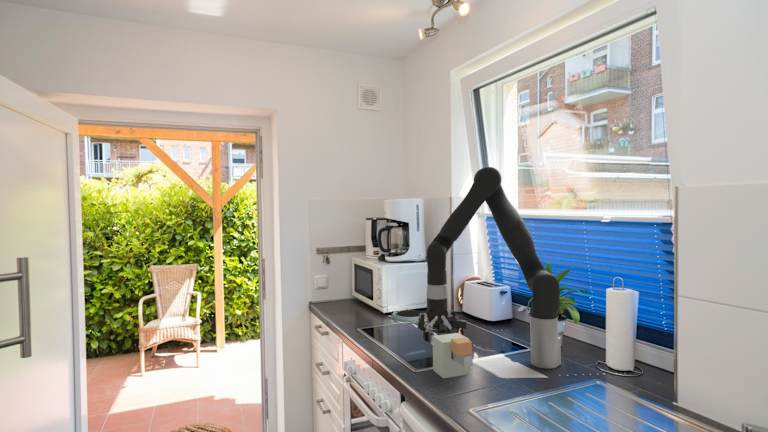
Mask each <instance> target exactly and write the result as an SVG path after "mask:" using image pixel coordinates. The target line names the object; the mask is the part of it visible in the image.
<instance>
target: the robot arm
mask: <svg viewBox="0 0 768 432" xmlns="http://www.w3.org/2000/svg"><path fill="white" fill-rule="evenodd" d="M484 203H486V205H487V207H488V208H489V211H490V213H491V215H492V217H493V220H494V222H495V224H496V226H497V229H498V231H499V233H500V235H501V237H502V238H503V240H504V243H505V245H506V246H507V248H508V249H509V251H510V253H511V255H513V258H514V259H515V261H516V262H517V263H518V265H519V267H520V269H521V272H522V274H523V276H524V280H525V282H526V284H527V287H528V288H529V290H530V292H531V293H532V294H531V295H532V299H531V300H532V305H531V307H530V308H529V318H530V319H529V320H530V321H529V324H530V326H529V327H530V329H529V330H530V333H529V334H530V364H531V365H532V366H534V367H535V368H539V369H547V370H548V369H550V370H551V369H555V368H558V367H559V366H561V364H562V362H561V360H562V359H561V357H562V356H561V355H562V354H561V353H562V352H561V349H562V348H561V347H562V346H561V338H560V337H559V325H558V324H559V323H558V322H559V321H558V319H559V318H558V313H559V311H560V300H561V299H560V297H561V295H560V292H561V290H560V282H559V280H558V278H557V277H556V276H555V275H554V274H552V273H550V272H549V271H547V269H546V267H545V266H544V264H543V263H542V261H541V259H540V258H539V256H538V253H537V250H536V248H535V244H534V240H533V237H532V234H531V232H530V229H529V228H528V226H527V224H526V222H525V221H524V219H523V217H522V216H521V215H520V213H519V212H518V210H517V209H516V208H515V207H514V205H513V204H512V203H511V201H510V200H509V198H508V197H507V195H506V193H505V191H504V189H503V186H502V175H501V173H500V170H498V169H497V168H495V167H493V166H484V167H481V168H480V169H478V170H477V171H476V172H475V174H474V177H473V183H472V184H471V186H470V188H469V191H468V192H467V194H466V196H465V197H464V198H463V200H462V201H461V202H460V203H459V205H458V206H457V207H456V208H455V209H454V210H453V212H451V214H450V215H449V216H448V218H447V219H446V221H445V222H444V224H443V225H442V227H441V229H440V230H439V232H438V233H437V235H436V236H435V237H434V238H433V240H432V241H431V242H430V244H429V245H428V246H427V249H426V266H427V272H426V273H427V274H426V276H427V277H426V278H427V280H426V281H427V282H426V283H427V284H426V285H427V286H426V313H425V314H422V313H419V319H418V322H417V323H418V324H417V329H418V330H420V331H421V332H422V336H423V337H422V338H423V340H424V341H425V343H428V342H429V332H430V331H429V330H431V328H432V327H433V326H434V325H437V324H442V323H443V324H444V325H445V326H446V333H445V334H452V329H453V328H457V327H456V318H457V317H456V316H457V315H456V311H455V310H453V309H450V310H448V286H447V285H448V284H447V283H448V281H447V280H448V279H447V277H448V276H447V270H446V267H447V266H446V265H447V253H448V252H449V251H450V249H451V248H452V246H453V244H454V243H455V242H456V241H458V239H459V238H460V237H461V235H462V234H463V232H464V231H465V229H466V228H467V227H468V225H469V223H470V222H471V221H472V219H473V218H474V216H475V214H476V213H477V212H478V210H479V209H480V208H481V206H482V205H483V204H484ZM447 316H450V324H449V322H448V321H447V319H446V318H447ZM426 317H427V318H428V320H425V318H426ZM424 320H425V321H424ZM433 324H434V325H433Z"/></svg>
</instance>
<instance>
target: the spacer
mask: <svg viewBox="0 0 768 432" xmlns="http://www.w3.org/2000/svg"><path fill="white" fill-rule="evenodd" d="M466 338H467V337H466ZM466 338H457V339H451V352H453V353H454V354H456V355H457V356H463V355H469V354H470V355H473V344H472V343H473V342H472V341H471V340H470V339H469V338H468V339H469V340H468V339H466Z"/></svg>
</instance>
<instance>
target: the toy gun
mask: <svg viewBox="0 0 768 432" xmlns="http://www.w3.org/2000/svg"><path fill="white" fill-rule="evenodd" d="M446 319H447V321H448V322H449V324H450V316H449V315H448V316H447V318H446ZM427 320H428V319H426V320H425V321H427ZM467 322H468V321H467V320H464V319H458V317H456V327H455V328H456V329H457V328H458V329H468V323H467ZM433 326H434V327H435V326H436V327H438V329H439V333H441V334H443V333H444V334H446V326H445V325H444V324H443V323H442V324H437V325H434V324H433Z"/></svg>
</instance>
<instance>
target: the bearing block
mask: <svg viewBox="0 0 768 432" xmlns="http://www.w3.org/2000/svg"><path fill="white" fill-rule="evenodd" d="M457 338H466V339H468V340H469V341H470V339H469V338H468V337H466V336H465V335H463V334H461V333H459V332H455V333H454V332H453V333H452V332H451V334H446V333H444V334H440V335H439V334H437V336H432V340H433V345H432V371H433V372H435V373H436V374H437V375H438V376H439V377H441V378H442V379H447V378H449V379H450V378H455V377H461V376H467V375H471V366H468V367H464V366H462V365H461V364H459V363H458V362H456V361H455V360H453V359H452V358H451V339H457ZM469 355H471V354H469Z"/></svg>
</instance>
